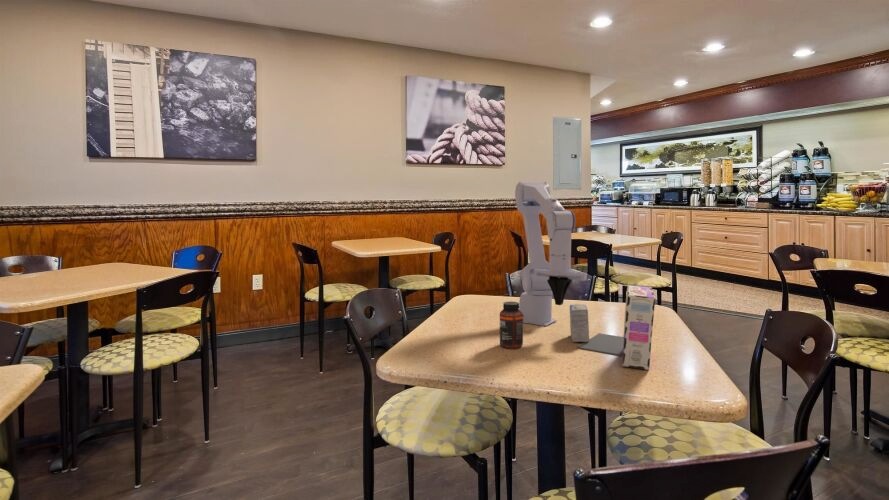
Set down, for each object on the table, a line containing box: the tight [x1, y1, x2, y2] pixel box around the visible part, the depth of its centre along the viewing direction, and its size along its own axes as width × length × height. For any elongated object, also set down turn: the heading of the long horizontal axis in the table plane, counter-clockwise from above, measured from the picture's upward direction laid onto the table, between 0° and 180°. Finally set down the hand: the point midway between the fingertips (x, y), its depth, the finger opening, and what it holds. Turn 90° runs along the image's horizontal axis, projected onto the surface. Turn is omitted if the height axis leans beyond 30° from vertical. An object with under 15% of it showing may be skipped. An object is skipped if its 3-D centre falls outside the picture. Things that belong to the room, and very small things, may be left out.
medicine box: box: [569, 303, 590, 343], centre depth 133 cm, size 8×4×9 cm, turn 168°
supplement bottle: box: [499, 300, 524, 350], centre depth 127 cm, size 6×6×11 cm
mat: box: [576, 333, 624, 357], centre depth 128 cm, size 11×16×1 cm
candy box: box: [622, 284, 656, 371], centre depth 115 cm, size 14×6×16 cm, turn 160°
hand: (559, 304), depth 135 cm, fingers closed
